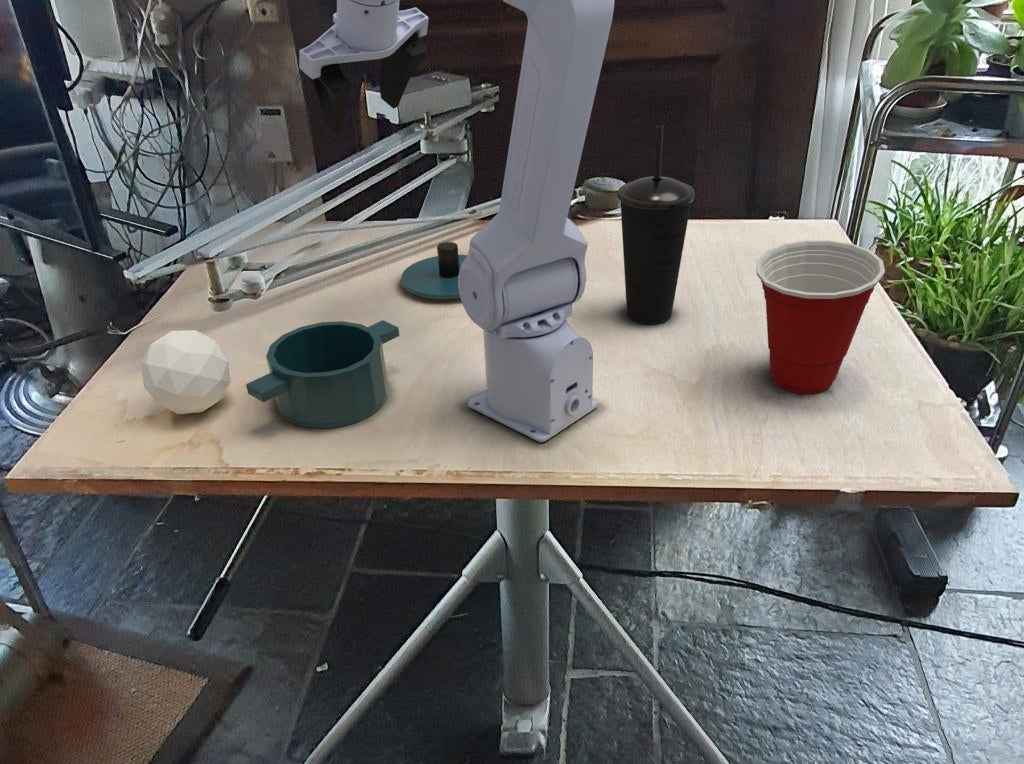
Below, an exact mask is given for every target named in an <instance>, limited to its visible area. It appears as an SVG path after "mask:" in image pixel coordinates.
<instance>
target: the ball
mask: <svg viewBox="0 0 1024 764" xmlns="http://www.w3.org/2000/svg"><path fill="white" fill-rule="evenodd" d="M229 366H230V365H229V358H228V357H227V355H226V354H225V352H224V351H223V349H222V348H221V346H220V345H219V344H218V342H217V341H216V340H214V339H213V338H211V337H209V336H207V335H206V334H204V333H201V332H200V331H198V330H197V329H194V330H193V329H192V330H191V329H190V330H170V331H168V333H165V334H164V335H162V336H161V337H159V338H158V339H157V340H155V341H154V342H152V343H150V345H149V347H148V349H147V351H146V353H145V354H144V356H143V358H142V360H141V372H142V384H143V388H144V389H145V390H146V391H147V392H148V394H149V395H150V396H151V398H153V400H154V401H155V402H156V403H157V404H158V405H160V406H162V407H163V408H165V409H167V410H169V411H171V412H172V413H174V414H176V415H185V414H186V415H188V414H199V413H200V414H201V413H203V412H205V411H206V410H208V409H209V408H210V407H212V406H213V405H215V404H217V403H218V402H219V401H221V400H222V398H223V396H224V394H226V393H225V392H226V391H227V389H228V388H229V386H230V385H231V383H232V381H231V373H230V367H229Z"/></svg>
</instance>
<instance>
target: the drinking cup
mask: <svg viewBox="0 0 1024 764" xmlns="http://www.w3.org/2000/svg"><path fill="white" fill-rule="evenodd" d="M663 139H664V125H662V124H658V125H656V127H655V143H654V159H653V160H654V163H653V175H650V176H644V177H641V178H638V179H635V180H633V181H628V182H627V183H625V184H622V185H621V186H620V187H619V188H618V190H617V198H618V200H619V202H620V217H621V219H620V220H621V232H622V233H621V235H622V251H623V252H622V253H623V268H624V269H623V270H624V287H625V288H624V289H625V306H626V316H627V317H628V319H629V320H631V321H632V322H635V323H637V324H640V325H641V324H642V325H658V324H659V325H660V324H663V323H666V322H667V321H669V320H670V319H671V318H672V314H673V308H674V303H675V297H676V292H677V286H678V281H679V273H680V268H681V263H682V257H683V250H684V245H685V239H686V235H687V228H688V223H689V217H690V211H691V205H692V202H693V201H694V199H695V197H696V192H695V189H694V188H693V186H691V185H689V184H687V183H684V182H682V181H680V180H678V179H675V178H672V177H668V176H663V175H661V174H662V157H663V141H664V140H663Z"/></svg>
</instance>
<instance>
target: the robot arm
mask: <svg viewBox="0 0 1024 764" xmlns="http://www.w3.org/2000/svg"><path fill="white" fill-rule="evenodd" d="M400 1H401V0H336V12H334V13H333V15H332V22H333V23H334V24H333V25H331V27H330V28H328V29H327V30H326V31H325V32H324V33H323V34H321V35H320V36H319V37H318V38H317V39H316V40H314V41H313V42H311V44H309V45H308V46H306V47H304V48H301V49H299V51H298V53H299V55H298V58H299V59H298V61H299V64H298V66H299V70H301V71H302V72H303V73H304V74H305V75H306V77H307V79H308V80H309V82H310V84H311V86H312V88H313V90H314V93H315V95H316V98H317V101H318V104H319V107H320V110H321V114H322V119H323V123H324V124H325V126H327V127H328V128H329V129H330V130H332V132H334V133H335V134H339V133H341V132H343V129H344V126H345V119H346V106H347V102H348V99H349V96H350V93H351V91H352V89H353V87H354V86H355V83H353V82H352V81H351V80H350V79H348V78H347V77H346V76H345V75H344V70H343V69H341V64H344V63H353V62H362V61H364V62H365V61H374V60H379V63H380V64H379V65H380V72H379V73H380V75H379V94H380V99H381V100H382V101H383V102H385V103H386V104H387V105H388V106H389V107H390V108H392V109H396V108H398V107H399V105H400V103H401V100H402V98H403V95H404V93H405V91H406V88H407V86H408V83H409V81H410V79H411V77H412V76H413V74H414V73H415V71H416V69H417V68H418V67H419V65H420V64H421V63H422V62H423V61H424V60H425V58H427V50H428V47H427V46H426V44H424V43H423V42H421V41H420V40H419V38H422V37H425V36H427V35H428V25H429V16H427V15H426V14H425V13H423V12H422V11H421V10H420V9H419V8H417V7H416V6H415V7H412V8H409V9H404V10H403V9H402V10H400ZM502 1H503V3H506V4H508V5H510V6H512V7H514V8H516V9H518V10H520V11H522V12H524V13H525V15H526V18H527V27H526V33H525V41H524V45H523V46H524V47H523V54H522V60H521V67H520V73H519V79H518V86H517V93H516V98H515V99H516V100H515V106H514V112H513V119H512V125H511V133H510V138H509V144H508V151H507V157H506V163H505V165H506V166H505V169H504V176H503V183H502V184H503V185H502V189H501V197H500V203H499V210H498V212H497V213H496V215H494V217H492V219H490V220H489V221H487V223H486V224H485V225H484V226H482V228H480V229H479V230H478V231H477V232H476V233H475V234H474V235H473V236H472V237H471V238H470V241H469V246H468V247H469V248H468V253H467V254H466V255H467V257H466V258H465V260H464V261H463V263H462V265H461V268H460V271H459V276H458V287H459V294H460V298H459V299H460V301H461V304H462V306H463V308H464V311H465V312H466V314H467V316H468V317H469V319H470V320H471V322H472V323H474V324H475V325H477V327H479V328H480V329H482V332H483V348H484V349H483V350H484V363H485V365H484V367H485V377H486V378H485V380H486V390H485V391H483V392H481V393H479V394H478V395H476V396H474V397H472V398H471V399H469V400H468V401H467V406H468V408H470V409H472V410H474V411H476V412H479V413H481V414H482V415H484V416H486V417H488V418H490V419H492V420H494V421H496V422H498V423H501V424H502V425H504V426H507V427H508V428H510V429H512V430H515V431H517V432H519V433H521V434H523V435H525V436H527V437H529V438H531V439H533V440H534V441H537V442H539V443H543V442H546V441H547V440H550V439H551V438H552V437H554V436H555V435H557V434H558V433H560V432H561V431H563V430H565V429H566V428H567V427H569V426H571V425H572V424H573V423H575V422H576V421H578V420H580V419H581V418H582V417H584V416H586V415H587V414H588V413H590V412H592V411H593V410H595V409H596V408H597V407H598V401H597V400H596V399H594V398H593V381H594V380H593V378H594V377H593V376H594V374H593V373H594V351H593V347H592V345H591V342H590V341H589V340H588V339H587V338H586V337H585V336H583V335H581V334H580V333H578V332H577V331H576V330H574V329H573V327H572V326H571V325H570V323H569V322H568V320H567V319H568V318H570V317H572V316H573V304H576V303H577V302H579V301H580V300H581V299H582V297H583V295H584V292H585V289H586V284H587V269H586V268H587V267H586V254H587V250H588V247H589V245H588V243H587V240H586V238H585V236H584V234H583V233H582V232H581V230H580V229H579V227H578V226H577V225H576V224H575V223H574V222H573V221H572V219H571V220H570V219H568V218H567V216H568V212H569V207H570V203H571V204H572V198H573V193H574V189H575V185H576V181H577V176H578V171H579V167H580V162H581V159H582V154H583V150H584V145H585V141H586V137H587V132H588V129H589V124H590V120H591V114H592V110H593V106H594V101H595V97H596V93H597V89H598V84H599V79H600V75H601V70H602V66H603V62H604V58H605V53H606V48H607V44H608V40H609V36H610V31H611V27H612V24H613V23H612V22H613V18H614V17H613V16H614V10H615V0H502Z"/></svg>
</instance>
